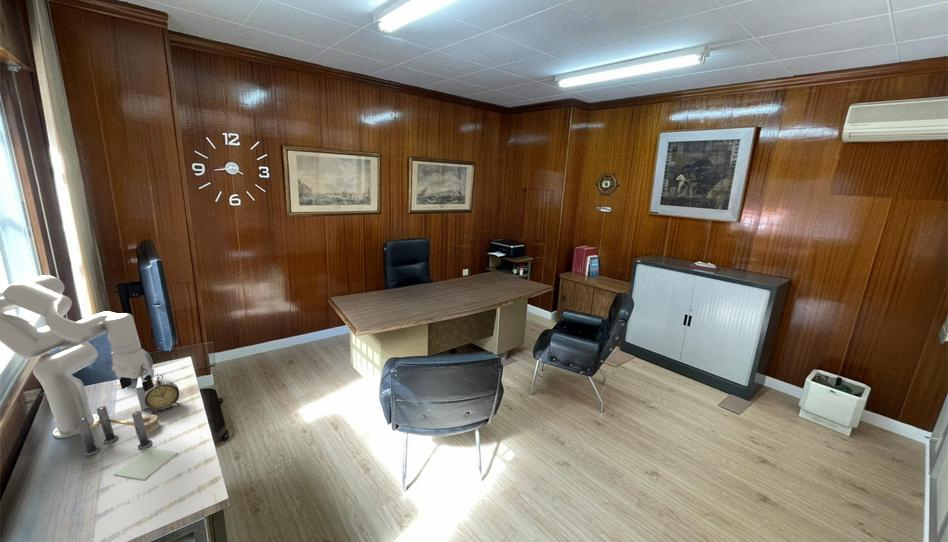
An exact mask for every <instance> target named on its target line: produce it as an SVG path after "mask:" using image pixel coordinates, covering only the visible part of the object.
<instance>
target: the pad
mask: <svg viewBox="0 0 948 542" xmlns="http://www.w3.org/2000/svg"><path fill="white" fill-rule="evenodd" d="M178 454H179V452H178V451H173V450H172V451H171V450H168V449H167V450H166V449H160V448H159V449H158V448H153V447H148V448H146V449H145V450H144V451H142V452H141V453H140V454H139V455H138V456H136V457H135V458H134V459H132V460H131V461H129V462H128V463H126V464H125V465H124V466H123V467H121V468H120V469H118V470H117V471H115V472H114V473H113V476H116V477H117V476H118V477H123V478H127V477H128V478H129V479H133V478H134V480H139V479H140V481H146V480H148V479H149V477H151V476H152V475H154V473H156V472H157V471H159V469H161V468H162V467H163V466H165V465H166V464H167V463H168V462H169V461H171V460H172V459H173V458H174V457H175V456H177V455H178ZM128 478H127V479H128Z"/></svg>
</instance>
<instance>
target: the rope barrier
mask: <svg viewBox="0 0 948 542" xmlns="http://www.w3.org/2000/svg"><path fill="white" fill-rule="evenodd" d="M96 412H97V415H98V416H99V419H100V421H99V422H98V423H96V424H94V425H93V426H91V427H90V426H89V423H88V420H87V417H82V418H79V419H78V420H77V423H78V426H79V429H80V432H81V434H80V435H81V438H82V440H83V441H82V442H83V444H84V447H85V450H86V451H85V452H84V453H83V455H84V457H92V456H94V455H96V454H98V453H99V452H100V451H101V447H100V446H96V442H95V439H94V436H93V432H92V430H93V429H94V428H96V427H98V426H100V425H101V429H102V432H103V434H104V439H103V441H102V443H103V444H104V445H109V444H112V443H114V442H116V441H117V440H119V435H117V434H115V432H114V429H113V426H112V423H113V424H118V425H119V424H120V425H126V426H133V427H134V429H135V428H136V430H135V432H136V431H137V433H136V435H137V438H138V440H139V444H138V445H137V450H139V451H140V450H147V449H148V448H151V446H152V445H153V441H152V440H149V437H148V434H147V432H146V429H145V425H144V421H143V418H142V417H143V415H142V414H143V413H142V410H141V411H139V410H138V411H134V412H132V414H131V417H132V419H133V421H132V422H131V421H127V420H120V419H119V420H118V419H111V418H110V416H109V413H108V409H107V406H105V405H104V406H100V407H98V408H96Z"/></svg>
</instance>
